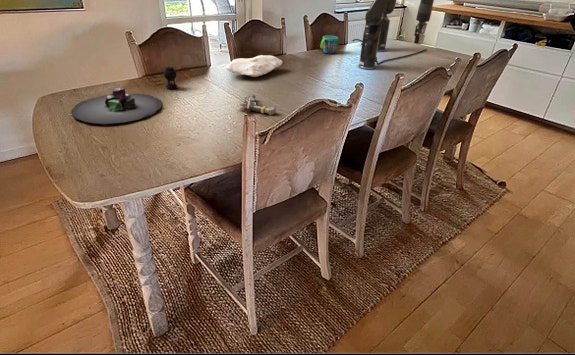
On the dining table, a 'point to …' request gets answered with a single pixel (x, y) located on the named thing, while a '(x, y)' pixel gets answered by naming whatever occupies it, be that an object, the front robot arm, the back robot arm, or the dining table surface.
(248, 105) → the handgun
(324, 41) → the snack cup
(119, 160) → the dining table surface
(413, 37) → the block
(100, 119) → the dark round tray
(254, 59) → the crumpled cloth
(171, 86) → the gumball machine
